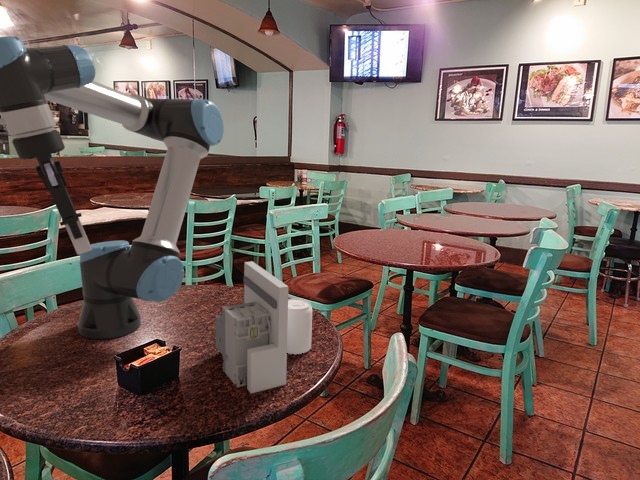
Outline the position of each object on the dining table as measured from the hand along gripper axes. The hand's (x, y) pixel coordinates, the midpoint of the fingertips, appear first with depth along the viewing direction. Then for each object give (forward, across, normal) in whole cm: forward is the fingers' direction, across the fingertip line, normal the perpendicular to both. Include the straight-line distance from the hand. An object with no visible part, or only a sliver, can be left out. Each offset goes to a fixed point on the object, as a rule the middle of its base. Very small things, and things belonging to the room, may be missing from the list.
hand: (84, 251), depth 89 cm
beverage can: (+39, +8, +35) cm, 53 cm away
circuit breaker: (+34, +11, +20) cm, 41 cm away
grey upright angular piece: (+35, +12, +23) cm, 43 cm away
